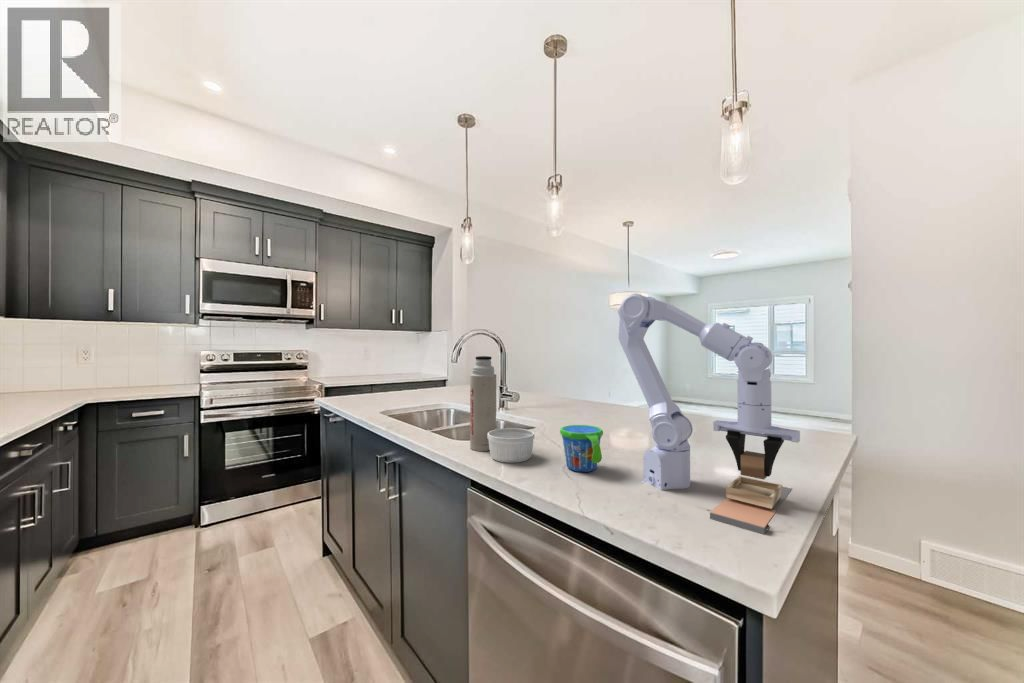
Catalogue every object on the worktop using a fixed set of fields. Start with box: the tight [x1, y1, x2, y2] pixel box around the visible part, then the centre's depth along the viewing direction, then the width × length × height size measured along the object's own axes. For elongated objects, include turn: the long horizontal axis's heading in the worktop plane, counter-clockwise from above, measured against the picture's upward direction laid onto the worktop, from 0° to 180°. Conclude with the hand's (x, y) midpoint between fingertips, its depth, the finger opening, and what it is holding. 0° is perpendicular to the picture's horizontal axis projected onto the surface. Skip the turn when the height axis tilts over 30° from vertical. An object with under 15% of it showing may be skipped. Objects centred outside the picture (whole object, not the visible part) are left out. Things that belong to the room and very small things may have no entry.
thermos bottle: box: [469, 355, 497, 452], centre depth 120 cm, size 8×8×28 cm
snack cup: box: [559, 424, 604, 473], centre depth 100 cm, size 16×10×10 cm
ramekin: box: [487, 427, 535, 464], centre depth 110 cm, size 13×13×7 cm
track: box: [709, 485, 793, 535], centre depth 78 cm, size 25×8×1 cm, turn 135°
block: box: [740, 450, 768, 481], centre depth 78 cm, size 4×4×4 cm
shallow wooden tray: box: [725, 475, 783, 509], centre depth 78 cm, size 9×8×2 cm
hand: (754, 472), depth 78 cm, fingers closed on block, 4 cm apart
